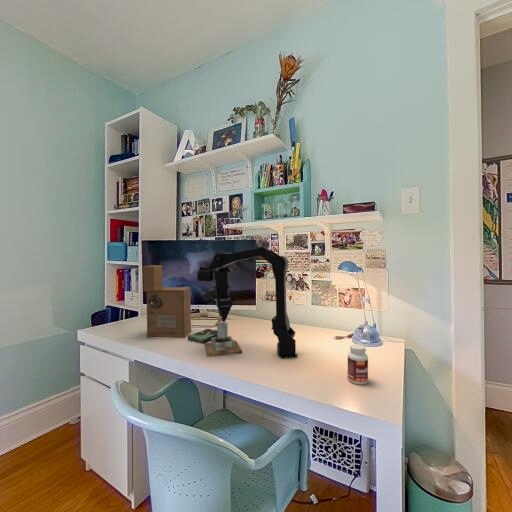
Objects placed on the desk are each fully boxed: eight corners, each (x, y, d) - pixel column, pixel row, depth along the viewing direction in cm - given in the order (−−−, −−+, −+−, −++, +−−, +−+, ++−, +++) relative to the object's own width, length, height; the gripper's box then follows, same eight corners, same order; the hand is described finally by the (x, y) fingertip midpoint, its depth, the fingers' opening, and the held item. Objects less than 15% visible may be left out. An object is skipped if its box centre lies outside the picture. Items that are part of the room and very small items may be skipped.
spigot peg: (226, 344, 124) (226, 321, 124) (228, 347, 120) (228, 324, 120) (216, 345, 123) (216, 322, 123) (217, 348, 119) (217, 324, 119)
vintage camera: (143, 340, 135) (141, 266, 134) (155, 331, 149) (154, 264, 149) (182, 340, 134) (181, 266, 133) (191, 331, 148) (190, 264, 147)
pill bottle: (357, 386, 87) (357, 351, 87) (343, 378, 93) (343, 345, 92) (372, 382, 90) (372, 348, 89) (358, 375, 95) (357, 342, 95)
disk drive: (207, 333, 146) (187, 341, 134) (207, 328, 146) (187, 335, 134) (223, 336, 141) (204, 345, 128) (223, 331, 141) (204, 338, 128)
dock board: (235, 342, 130) (235, 333, 130) (241, 353, 116) (241, 343, 116) (204, 345, 127) (204, 336, 126) (207, 356, 113) (207, 346, 113)
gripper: (201, 280, 128) (201, 315, 128) (204, 286, 110) (204, 326, 110) (225, 280, 131) (226, 313, 131) (232, 284, 113) (233, 324, 113)
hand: (222, 319), depth 121 cm, fingers open, 9 cm apart
